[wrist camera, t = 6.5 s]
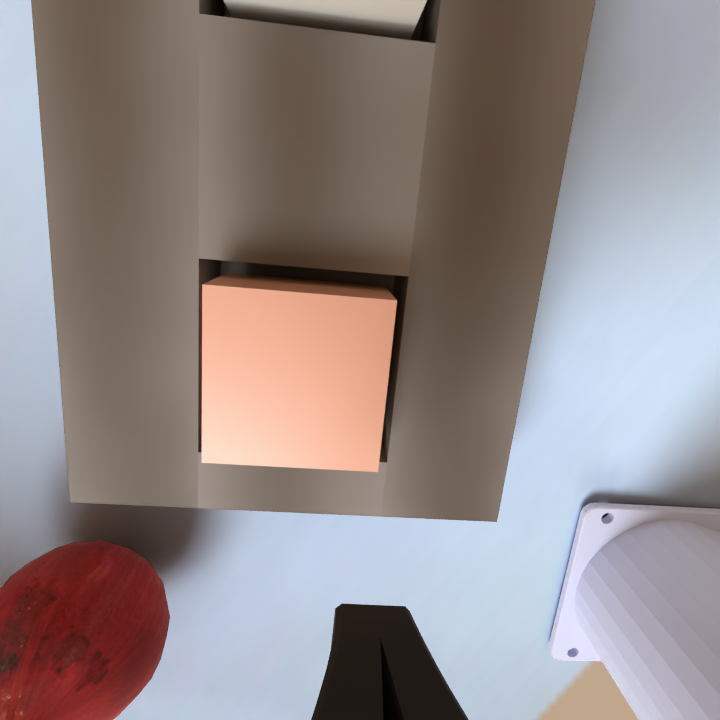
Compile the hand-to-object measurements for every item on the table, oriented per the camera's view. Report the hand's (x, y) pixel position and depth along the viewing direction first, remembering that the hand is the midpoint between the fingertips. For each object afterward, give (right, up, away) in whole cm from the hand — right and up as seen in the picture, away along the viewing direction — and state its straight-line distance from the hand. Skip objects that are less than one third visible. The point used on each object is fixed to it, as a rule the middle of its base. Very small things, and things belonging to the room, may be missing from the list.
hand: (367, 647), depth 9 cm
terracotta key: (-2, +6, +7) cm, 9 cm away
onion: (-10, -3, +11) cm, 15 cm away
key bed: (-2, +12, +7) cm, 14 cm away
